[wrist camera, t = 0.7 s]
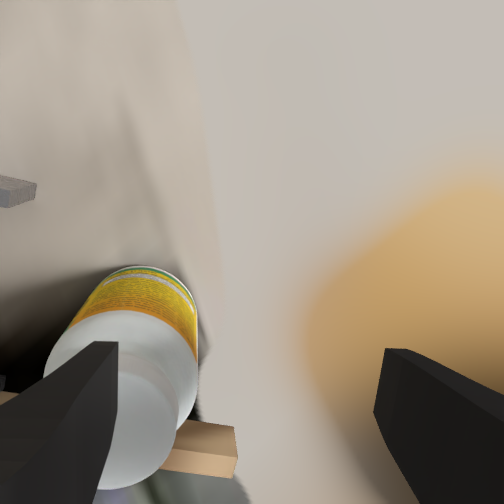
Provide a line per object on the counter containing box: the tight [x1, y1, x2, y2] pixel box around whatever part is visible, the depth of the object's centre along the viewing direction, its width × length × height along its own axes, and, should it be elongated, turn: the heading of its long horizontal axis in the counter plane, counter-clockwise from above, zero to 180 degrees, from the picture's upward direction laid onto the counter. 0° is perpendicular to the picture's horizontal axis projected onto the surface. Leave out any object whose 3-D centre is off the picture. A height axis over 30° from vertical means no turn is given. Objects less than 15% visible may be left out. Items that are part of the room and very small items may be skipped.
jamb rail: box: [0, 391, 238, 478], centre depth 22 cm, size 20×1×2 cm, turn 75°
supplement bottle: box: [43, 266, 198, 489], centre depth 18 cm, size 5×5×10 cm
